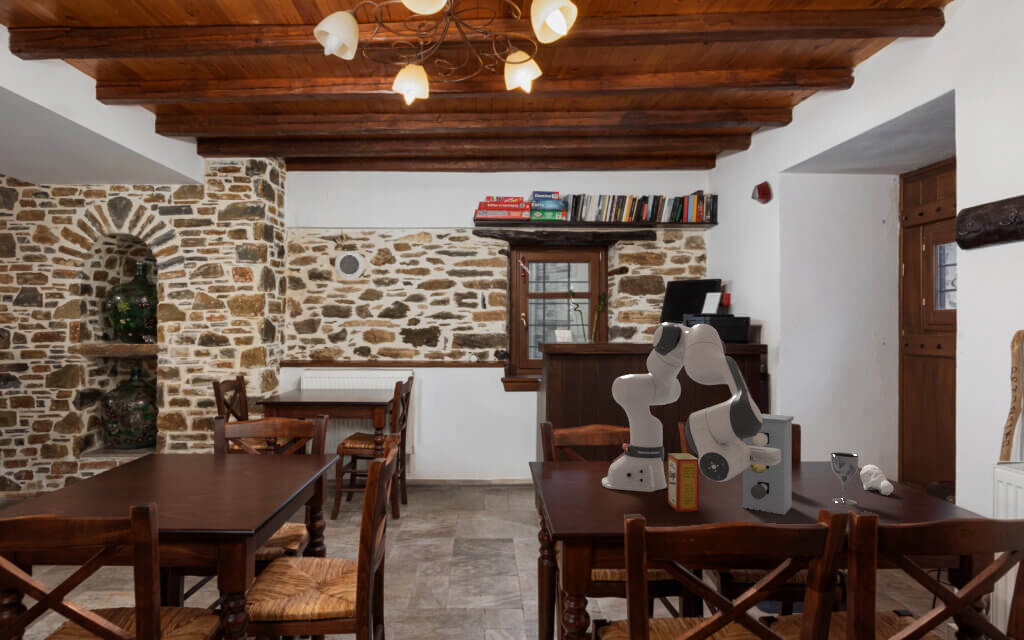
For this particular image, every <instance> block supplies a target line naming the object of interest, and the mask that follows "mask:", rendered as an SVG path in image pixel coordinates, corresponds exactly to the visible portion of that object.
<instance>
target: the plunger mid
mask: <svg viewBox="0 0 1024 640" xmlns="http://www.w3.org/2000/svg"><path fill="white" fill-rule="evenodd" d="M751 469H752V471H753V472H755V473H758V474H759V473H762V472H764V471H765V469H766V465H757V464H751Z"/></svg>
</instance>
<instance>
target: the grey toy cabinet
mask: <svg viewBox="0 0 1024 640" xmlns="http://www.w3.org/2000/svg"><path fill="white" fill-rule="evenodd" d="M761 415H762V420H763V425H762V427H761V429H760V431H759V432H758V433H769V440H768V442H767V444H766V445H765V446H762V447H766V448H776V449H779V450H781V462H780V463H779V464H776V465H772V466H766V469H765V471H764V472H762V473H759V474H758V473H755V472H753V471H752V469H751V464H750V466H749V467H748V468H747V469H746V470H745V471H743V472H742V509H747V508H749V509H748V510H753V509H754V510H755V511H759V510H761V511H760V512H765V511H766V513H771V512H772V514H777V515H778V514H779V515H783V516H785V515H786V514H787V513H788V512H789V510H790V509H791V508H792V502H793V501H792V496H793V495H792V494H793V493H792V489H793V487H792V481H793V480H792V474H793V473H792V467H793V466H792V463H793V462H792V455H793V454H792V453H793V452H792V448H793V447H792V444H793V443H792V439H793V438H792V437H793V436H792V435H793V433H792V432H793V431H792V430H793V429H792V427H793V425H792V422H793V421H794V420H795V418H794V415H793V416H792V415H783V414H780V415H779V414H768V413H761ZM742 442H744V443H745V444H746V445H747V446H756V445H755V444H754V443H753V437H749V438H744V439H742ZM757 447H758V446H757ZM763 482H765V483H769V489H768V490H767V491H766V495H765V496H764V497H763V498H762V499H756V498H754V497H753V496H752V495H751V488H752V487H753V486H754V485H757V484H759V485H760V484H762V483H763Z"/></svg>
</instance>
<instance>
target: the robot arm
mask: <svg viewBox="0 0 1024 640" xmlns="http://www.w3.org/2000/svg"><path fill="white" fill-rule="evenodd" d="M652 347H653V349H652V351H651V352H650V353H649V356H647V359H646V367H647V368H646V369H647V370H648V373H633V374H631V373H629V374H624V375H621V376H618V377H616V378H615V379H614V381H613V383H612V385H611V386H612V387H611V393H612V397H613V399H614V400H615V402H616V403H617V404H618V405H620V406H621V407H622V409H623V410H624V411H625V413H626V416H627V417H628V418H627V419H628V422H629V432H630V433H629V436H630V437H629V439H630V440H629V442H630V443H623V444H622V449H623V450H624V454H623V455H622V456H621V457H619V458H618V459H617V460H615V461H613V462H612V463H611V465H610V466H609V468H608V473H607V476H606V477H603V478H602V479H601V485H602V487H603V488H604V487H605V488H606V489H609V490H610V489H611V490H623V491H634V492H647V493H651V492H655V491H657V490H663V489H666V488H668V483H667V481H666V480H667V479H666V476H665V471H664V470H665V469H664V461H665V460H664V459H665V447H664V445H663V424H662V423H663V422H661V420H660V419H659V418H657V417H656V416H654V415H652V413H651V411H650V410H651V409H650V406H662V405H663V406H664V405H667V404H672V403H675V402H676V401H678V399H679V398H680V397H681V392H682V387H681V383H680V381H679V379H678V378H677V376H678V375H679V374H680V371H681V370H682V368H683V367H684V370H685V372H686V374H687V376H689V378H690V379H691V380H692V381H694V382H696V383H698V384H701V385H705V386H713V385H714V386H715V385H727V386H728V388H729V390H730V393H731V397H730V398H729V399H728V400H726V401H723V402H720V403H718V404H715V405H712V406H709V407H705V408H703V409H699V410H698V411H694V412H691V413H689V416H688V418H687V421H686V424H685V429H684V430H685V436H686V439H687V442H688V444H689V446H690V448H691V450H692V451H693V452H694V453H695V454H696V456H698V459H699V460H698V463H699V471H700V472H701V473H702V475H703V476H704V477H706V478H707V479H708V480H709V481H710V480H711V481H713V482H718V483H720V482H721V483H722V482H727V481H729V480H732V479H734V478H736V476H738V475H740V474H741V473H742V474H743V471H745V470H746V469H747V468H748V467H749V466H750V464H757V465H766V466H772V465H776V464H779V463H780V462H781V450H779V449H776V448H766V447H757V446H747V445H746V444H745V443H744V442H743V439H744V438H749V437H753V436H756V435H757V434H758V432H759V431H760V429H761V427H762V425H763V420H762V415H761V414H762V413H761V411H760V409H759V407H758V405H757V404H756V403H755V400H754V398H753V395H752V393H751V392H750V388H749V386H748V383H747V381H746V378H745V377H744V374H743V372H742V370H741V368H740V367H739V365H738V364H737V362H736V361H735V359H734V358H732V357H731V356H728V355H726V349H727V348H726V344H725V342H724V341H723V340H722V339H721V338H720V335H719V332H718V331H717V330H716V328H714V327H713V326H712V325H710V324H706V323H698V324H695V325H693V326H692V327H689V326H686V325H683V324H682V325H681V324H677V323H676V322H667V321H665V322H663V323H661V324H660V325H659V326H658V327H657V328H656V330H655V332H654V334H653V338H652Z"/></svg>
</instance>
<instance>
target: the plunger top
mask: <svg viewBox="0 0 1024 640" xmlns="http://www.w3.org/2000/svg"><path fill="white" fill-rule="evenodd" d="M768 440H769V433H758V434H757V435H756V436H753V443H754V444H755V445H756V446H758V447H762V446H765V445H766V444H767V442H768Z"/></svg>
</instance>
